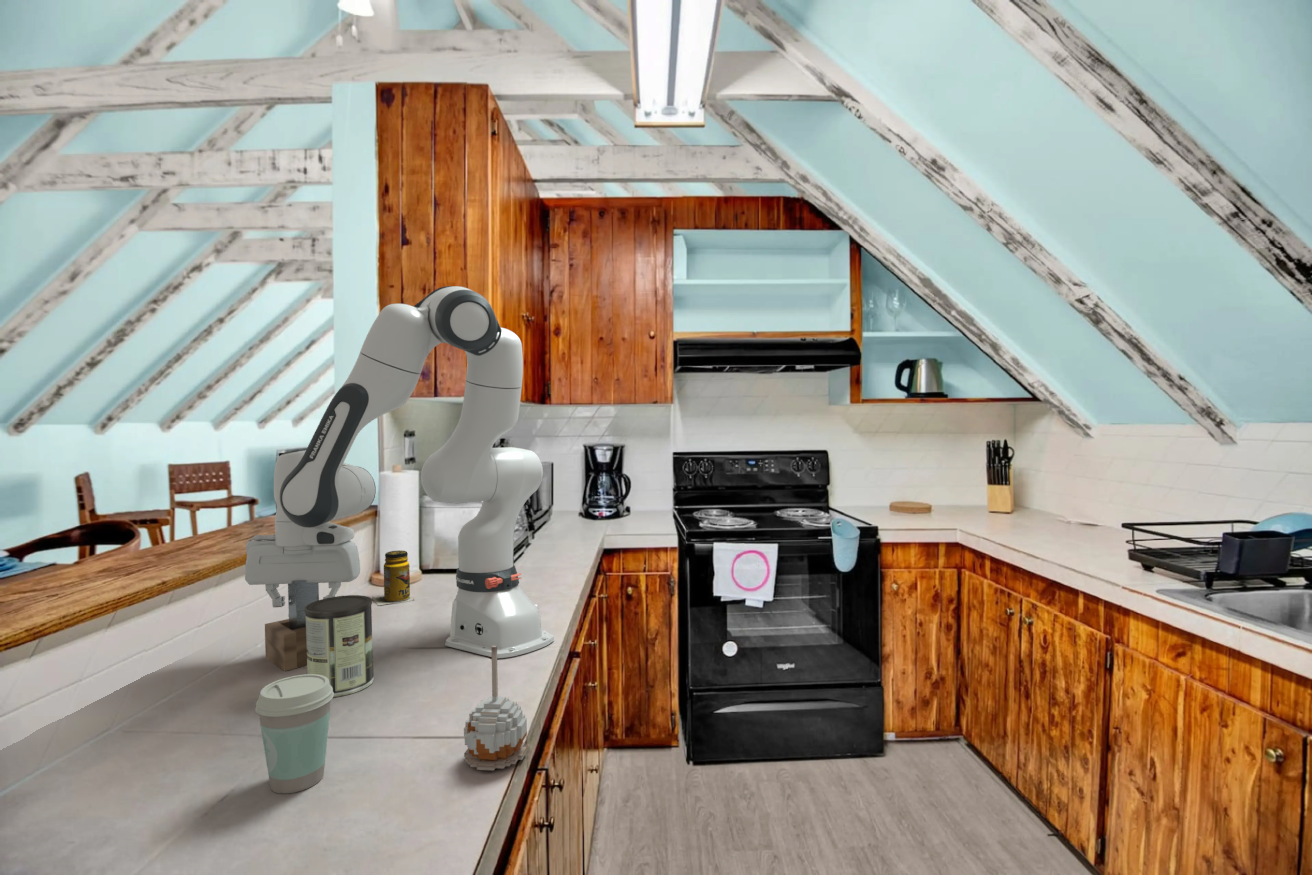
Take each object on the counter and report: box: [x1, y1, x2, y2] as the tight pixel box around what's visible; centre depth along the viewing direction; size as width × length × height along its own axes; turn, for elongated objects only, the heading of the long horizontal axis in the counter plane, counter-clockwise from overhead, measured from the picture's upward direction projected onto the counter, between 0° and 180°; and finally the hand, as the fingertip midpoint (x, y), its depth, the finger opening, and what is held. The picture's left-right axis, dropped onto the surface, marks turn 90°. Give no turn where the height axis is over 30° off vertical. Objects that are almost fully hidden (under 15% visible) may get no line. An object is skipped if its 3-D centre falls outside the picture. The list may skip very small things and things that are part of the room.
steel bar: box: [287, 580, 320, 630], centre depth 123 cm, size 4×4×15 cm
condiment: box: [372, 550, 415, 606], centre depth 162 cm, size 7×8×12 cm
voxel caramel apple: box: [463, 646, 528, 771], centre depth 86 cm, size 8×8×15 cm
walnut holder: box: [264, 618, 307, 672], centre depth 123 cm, size 10×10×6 cm
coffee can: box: [305, 594, 375, 698], centre depth 110 cm, size 10×10×14 cm
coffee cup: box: [254, 673, 334, 795], centre depth 81 cm, size 9×9×12 cm
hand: (304, 605), depth 124 cm, fingers open, 8 cm apart
